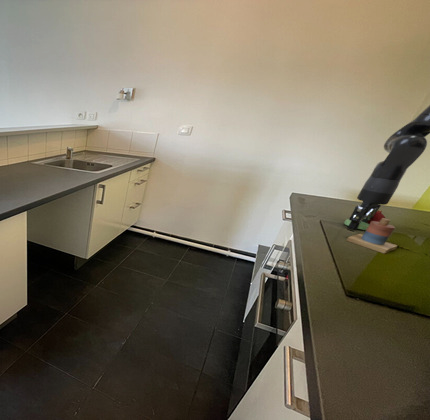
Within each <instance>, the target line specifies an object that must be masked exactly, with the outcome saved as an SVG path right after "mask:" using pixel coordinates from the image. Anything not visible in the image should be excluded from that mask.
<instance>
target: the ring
mask: <svg viewBox="0 0 430 420" xmlns="http://www.w3.org/2000/svg"><path fill="white" fill-rule="evenodd" d="M350 222H351V220H349V218H348V219H345V220H344V222H343V224H344V225H346V226H347V227H348V226H349V224H350ZM368 226H369V224H368V223H365V222H361V223H360V224H359V226H358V228H357V229H356V230H363V231H366V229H367V228H368Z"/></svg>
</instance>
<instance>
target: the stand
mask: <svg viewBox="0 0 430 420" xmlns="http://www.w3.org/2000/svg"><path fill="white" fill-rule="evenodd" d="M390 222H391V219H389V218H386V217H385V218H382V219H381V221H380V222H376V221H371V223H370V224H369V226H368V228H367V229H366V230H364V233H358V234H354V235H350V236H348V237H347V238H346V242H349V243H351V244H354V245H358V246H361V247H362V248H363V247H364V248H366V249H369V250H371V251H372V250H373V251H375V252H378V253H381V254H383V255H385V254H387V253H390V252H392V251H394V250H396V249H397V248H398V245H397V244H395V243H391V242H387V241H388V240H389V238H390V237H391V235H392V233H393V232H394V230H395V229H396V226H394V225H392V224H389V223H390Z"/></svg>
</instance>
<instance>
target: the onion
mask: <svg viewBox="0 0 430 420" xmlns="http://www.w3.org/2000/svg"><path fill="white" fill-rule="evenodd" d="M382 212H383V211H382V210H381V209H378V211H377V212H376V214H375V215H374V218H372V219H371V220H370V221H368V222H367V223H368V224H370V223H371V221H376V222H380V221H381V219H382V218H386V216H385V215H384V214H383V213H382Z"/></svg>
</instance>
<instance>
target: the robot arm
mask: <svg viewBox="0 0 430 420" xmlns="http://www.w3.org/2000/svg"><path fill="white" fill-rule="evenodd" d="M428 135H430V104H429V105H428V106H427V107H425V108H424V109H423V110H422V111H421V112H420V113H419V114H418V115H417V116H416V117H415V118H414V119H413V120H411V121H410V122H408V123H406V124H405V125H404V126H402V127H400V128H399V129H398V130H396V131H395V132H394V133H393V134H391V135H390V136H389V137H388V138H387V139H386V140H385V142H384V143H383V150H384V151H385V152H387V153H388V155H387V156H386V157H385V159H383V160H382V161H379V162H378V163H377V164H376V165H375V167H374V168H373V170H372V172H371V174H370V175H369V177H368V178H367V179H366V181H365V183H364V184H363V186H362V187H361V190H360V191H359V193H358V195H357V197H356V199H357V200H359V201H361V202H362V203H361V204H359V205H356V206H355V207H354V209H353V211H352V213H351V216H350V217H349V218H348V219H349V220H351V222H350V224H349V226H348V225H347V228H346V230H347V231H350V232H355V231H356V230H358V229H357V228H358V226H359V224H360V223H361V222H365V223H367V222H368V221H370V220H371V219H372V218H374V215H375V214H376V212H377V211H378V210H380V208H381V206H384V205H388V204H389V202H390V201H391V199H392V197H393V195H394V194H395V193H396V190H397V189H398V187H399V185H400V182H401V180H402V179H403V178H404V175H405V174H406V173H407V170H408V169H409V168H410V167H411V166H412V165H413V164H414V163H415V162H416V161H417V160H418V159H419V158H420V157H421V155H422V154H423V153H424V152H425V151H426V148H427V147H428V140H427V138H426V137H427V136H428Z"/></svg>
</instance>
